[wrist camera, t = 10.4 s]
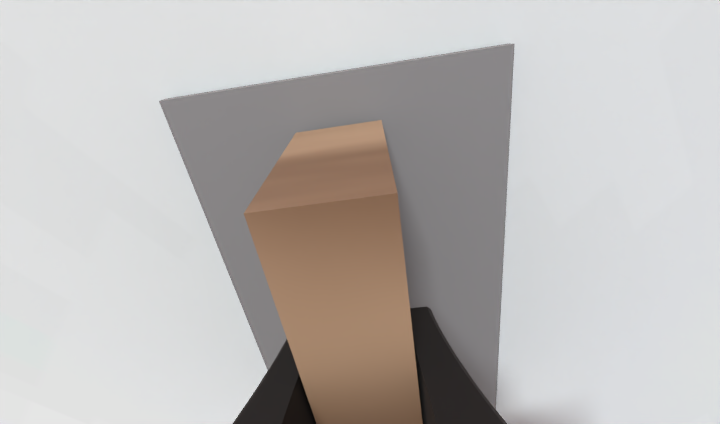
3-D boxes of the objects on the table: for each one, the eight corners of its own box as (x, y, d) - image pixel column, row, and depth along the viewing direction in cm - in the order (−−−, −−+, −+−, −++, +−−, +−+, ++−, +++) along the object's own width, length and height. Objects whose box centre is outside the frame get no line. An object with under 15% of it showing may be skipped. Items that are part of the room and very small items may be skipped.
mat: (508, 43, 10) (514, 43, 9) (492, 416, 17) (494, 424, 17) (166, 98, 10) (159, 101, 10) (297, 432, 18) (296, 440, 18)
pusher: (221, 143, 10) (113, 231, 6) (461, 108, 10) (544, 173, 5) (313, 412, 16) (295, 556, 12) (464, 398, 16) (505, 544, 11)
